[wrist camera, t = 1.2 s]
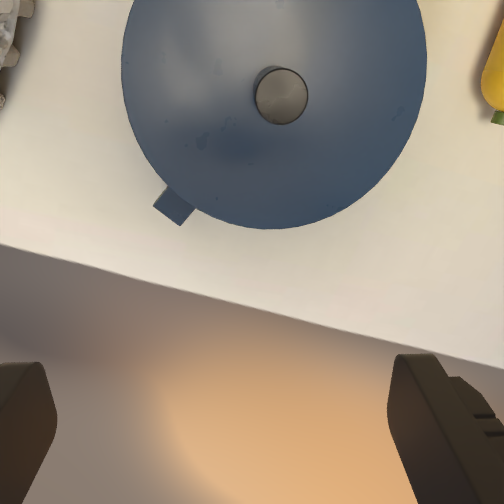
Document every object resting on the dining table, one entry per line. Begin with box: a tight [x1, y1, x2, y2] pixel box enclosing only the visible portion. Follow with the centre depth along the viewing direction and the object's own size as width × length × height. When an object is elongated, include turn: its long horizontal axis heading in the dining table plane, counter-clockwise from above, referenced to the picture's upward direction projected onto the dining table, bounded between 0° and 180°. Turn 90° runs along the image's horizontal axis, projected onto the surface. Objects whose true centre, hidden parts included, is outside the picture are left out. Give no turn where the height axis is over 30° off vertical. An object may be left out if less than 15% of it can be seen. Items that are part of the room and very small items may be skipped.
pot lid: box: [121, 0, 427, 229], centre depth 23 cm, size 18×18×7 cm
